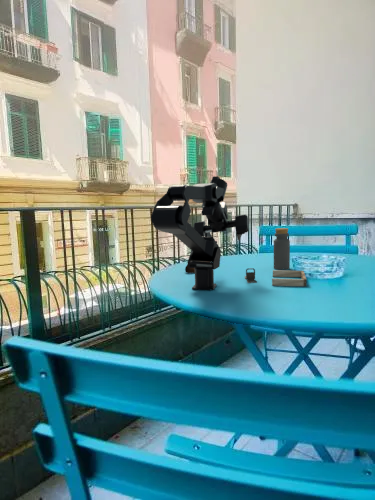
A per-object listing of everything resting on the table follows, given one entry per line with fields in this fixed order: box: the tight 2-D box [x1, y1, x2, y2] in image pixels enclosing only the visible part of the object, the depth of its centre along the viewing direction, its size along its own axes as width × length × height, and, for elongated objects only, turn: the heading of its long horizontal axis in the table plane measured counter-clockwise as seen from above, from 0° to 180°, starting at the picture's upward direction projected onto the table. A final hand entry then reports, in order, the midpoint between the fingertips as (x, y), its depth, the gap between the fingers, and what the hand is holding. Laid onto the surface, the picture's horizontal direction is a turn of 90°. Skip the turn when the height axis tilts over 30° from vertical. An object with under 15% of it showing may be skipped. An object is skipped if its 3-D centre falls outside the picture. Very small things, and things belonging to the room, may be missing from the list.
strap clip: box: [244, 267, 258, 284], centre depth 118 cm, size 8×3×4 cm, turn 179°
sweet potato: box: [184, 261, 201, 274], centre depth 141 cm, size 18×7×7 cm
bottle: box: [273, 227, 291, 271], centre depth 135 cm, size 6×6×15 cm
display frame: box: [271, 269, 308, 287], centre depth 116 cm, size 14×10×2 cm
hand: (226, 241), depth 128 cm, fingers open, 9 cm apart
